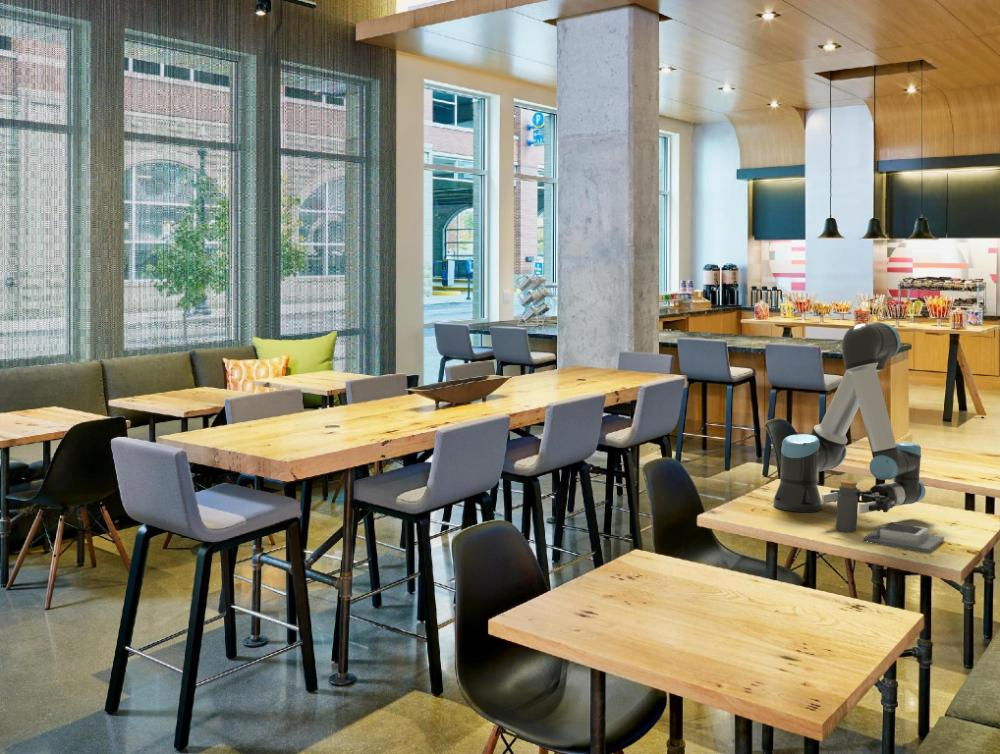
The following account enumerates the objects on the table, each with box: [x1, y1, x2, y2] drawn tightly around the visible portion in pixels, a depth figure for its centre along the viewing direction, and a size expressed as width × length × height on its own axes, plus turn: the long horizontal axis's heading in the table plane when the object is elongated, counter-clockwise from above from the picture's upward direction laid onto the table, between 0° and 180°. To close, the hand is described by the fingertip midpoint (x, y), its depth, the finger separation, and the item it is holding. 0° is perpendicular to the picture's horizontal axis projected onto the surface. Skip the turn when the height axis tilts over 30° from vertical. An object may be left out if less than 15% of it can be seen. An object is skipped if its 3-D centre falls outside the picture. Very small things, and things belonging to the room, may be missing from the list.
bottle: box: [835, 479, 859, 533], centre depth 295 cm, size 6×6×15 cm
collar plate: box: [862, 521, 945, 554], centre depth 284 cm, size 18×16×4 cm
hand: (841, 503), depth 293 cm, fingers open, 13 cm apart
